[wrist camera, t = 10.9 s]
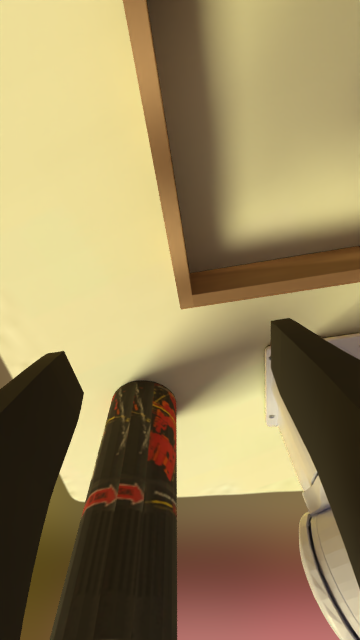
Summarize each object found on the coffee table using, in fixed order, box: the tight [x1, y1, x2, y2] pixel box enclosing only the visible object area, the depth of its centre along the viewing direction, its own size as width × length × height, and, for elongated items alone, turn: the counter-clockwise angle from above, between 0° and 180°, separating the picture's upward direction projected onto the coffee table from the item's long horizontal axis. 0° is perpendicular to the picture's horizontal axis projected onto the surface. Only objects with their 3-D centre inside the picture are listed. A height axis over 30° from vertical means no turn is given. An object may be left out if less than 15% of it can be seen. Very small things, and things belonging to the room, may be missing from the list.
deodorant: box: [50, 381, 177, 640], centre depth 19 cm, size 6×6×15 cm
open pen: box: [123, 0, 360, 309], centre depth 14 cm, size 16×16×4 cm
